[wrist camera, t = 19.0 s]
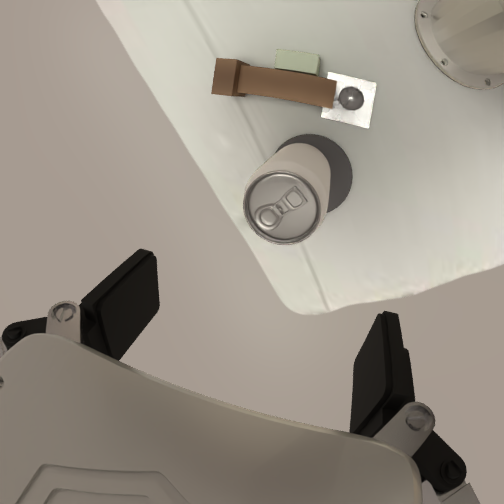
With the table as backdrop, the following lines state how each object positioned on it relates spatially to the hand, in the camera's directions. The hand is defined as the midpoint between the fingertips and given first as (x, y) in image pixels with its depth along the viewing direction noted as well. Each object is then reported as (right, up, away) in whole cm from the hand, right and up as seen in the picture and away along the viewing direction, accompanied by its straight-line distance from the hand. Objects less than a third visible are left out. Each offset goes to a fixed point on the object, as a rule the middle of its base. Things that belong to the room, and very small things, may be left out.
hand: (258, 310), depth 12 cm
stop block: (+5, +21, +14) cm, 26 cm away
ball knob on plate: (+10, +18, +15) cm, 25 cm away
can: (+5, +11, +20) cm, 23 cm away
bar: (+3, +19, +15) cm, 25 cm away
